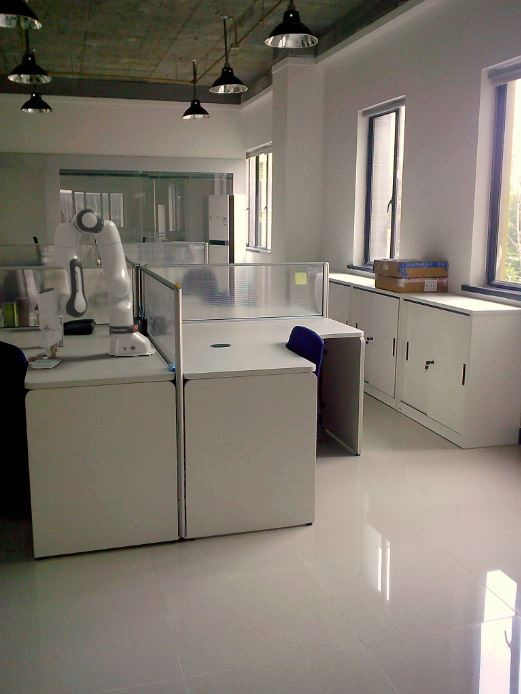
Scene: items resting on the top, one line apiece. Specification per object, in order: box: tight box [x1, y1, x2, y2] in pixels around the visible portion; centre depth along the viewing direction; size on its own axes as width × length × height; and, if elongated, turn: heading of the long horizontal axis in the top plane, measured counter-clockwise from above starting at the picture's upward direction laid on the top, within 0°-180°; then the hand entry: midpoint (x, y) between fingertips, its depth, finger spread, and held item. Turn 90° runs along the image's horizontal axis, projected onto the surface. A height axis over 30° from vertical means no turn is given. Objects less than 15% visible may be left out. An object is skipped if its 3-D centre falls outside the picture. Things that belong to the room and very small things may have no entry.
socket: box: [44, 356, 62, 362], centre depth 310 cm, size 6×6×2 cm
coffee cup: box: [34, 303, 42, 331], centre depth 400 cm, size 11×11×15 cm
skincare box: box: [58, 315, 65, 348], centre depth 348 cm, size 8×7×16 cm
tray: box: [30, 359, 57, 367], centre depth 302 cm, size 9×8×2 cm
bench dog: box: [27, 355, 45, 364], centre depth 309 cm, size 6×3×3 cm, turn 89°
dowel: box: [49, 344, 57, 360], centre depth 309 cm, size 3×3×10 cm
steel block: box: [36, 351, 49, 357], centre depth 321 cm, size 6×5×2 cm
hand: (52, 353), depth 310 cm, fingers open, 8 cm apart
